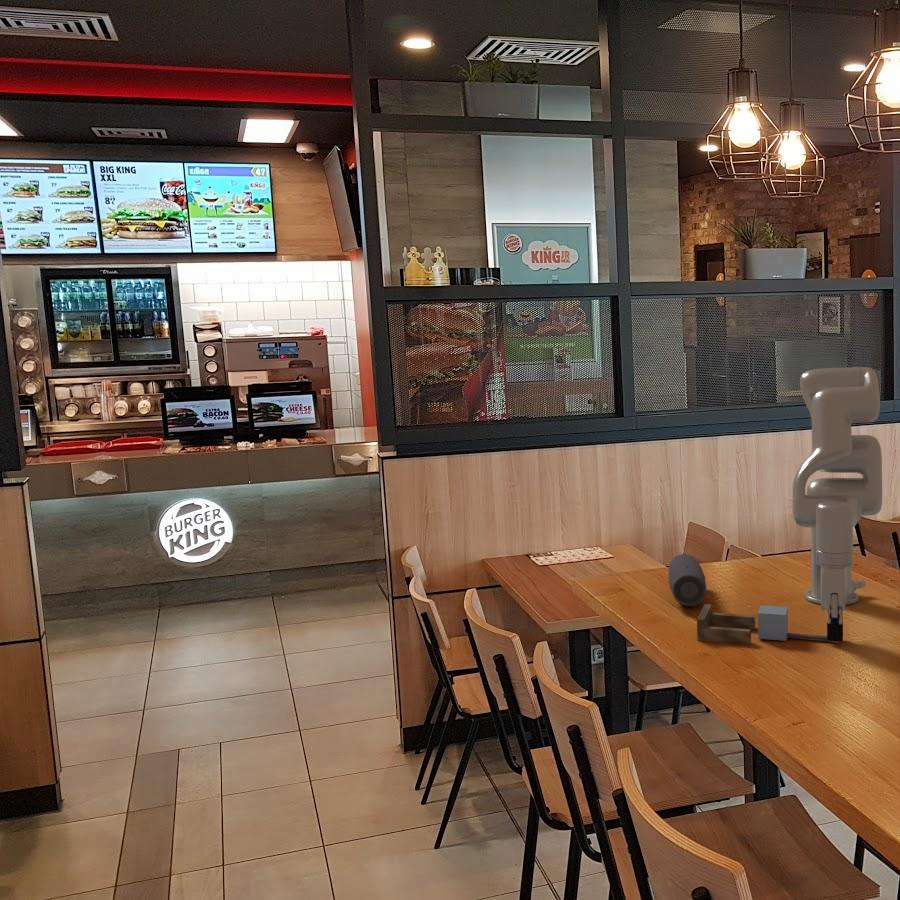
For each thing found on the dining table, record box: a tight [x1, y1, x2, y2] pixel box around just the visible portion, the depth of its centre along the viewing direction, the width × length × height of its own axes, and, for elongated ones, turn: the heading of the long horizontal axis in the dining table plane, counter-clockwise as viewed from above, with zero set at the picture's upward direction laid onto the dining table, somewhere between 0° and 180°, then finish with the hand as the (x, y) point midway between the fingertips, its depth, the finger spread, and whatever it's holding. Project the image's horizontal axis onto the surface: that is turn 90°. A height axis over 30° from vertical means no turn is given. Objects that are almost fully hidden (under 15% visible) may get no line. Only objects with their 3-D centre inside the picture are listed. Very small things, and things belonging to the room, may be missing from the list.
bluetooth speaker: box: [668, 553, 707, 607], centre depth 237 cm, size 23×9×10 cm, turn 168°
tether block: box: [757, 605, 844, 644], centre depth 201 cm, size 18×6×7 cm, turn 66°
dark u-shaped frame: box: [696, 603, 756, 645], centre depth 207 cm, size 12×12×5 cm
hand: (835, 637), depth 198 cm, fingers closed on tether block, 3 cm apart
